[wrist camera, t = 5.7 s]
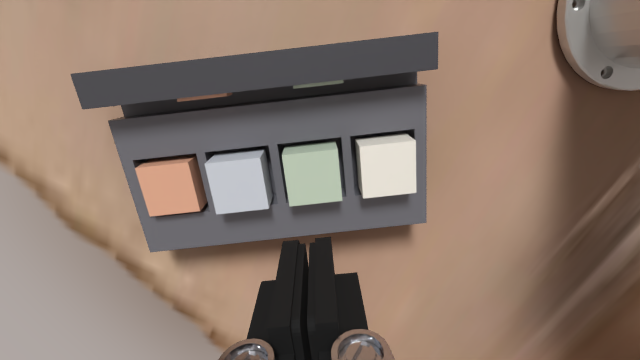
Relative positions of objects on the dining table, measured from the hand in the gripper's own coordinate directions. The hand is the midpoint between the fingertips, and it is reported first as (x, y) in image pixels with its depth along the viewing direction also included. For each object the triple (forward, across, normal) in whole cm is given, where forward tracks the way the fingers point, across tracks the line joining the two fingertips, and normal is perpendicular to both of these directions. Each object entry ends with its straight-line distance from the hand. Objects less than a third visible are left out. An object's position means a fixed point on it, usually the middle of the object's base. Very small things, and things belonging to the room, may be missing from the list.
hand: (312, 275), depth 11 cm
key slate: (+13, +5, 0) cm, 14 cm away
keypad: (+16, +3, -1) cm, 16 cm away
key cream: (+13, -5, 0) cm, 14 cm away
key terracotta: (+14, +10, 0) cm, 17 cm away
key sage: (+13, 0, 0) cm, 13 cm away
